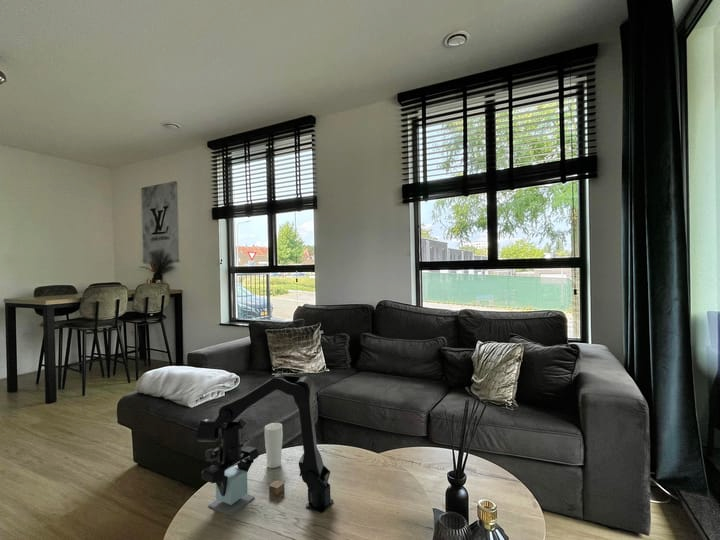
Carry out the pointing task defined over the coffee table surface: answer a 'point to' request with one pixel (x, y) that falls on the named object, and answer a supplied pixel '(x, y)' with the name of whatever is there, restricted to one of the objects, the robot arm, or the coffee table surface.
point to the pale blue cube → (234, 486)
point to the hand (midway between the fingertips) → (232, 489)
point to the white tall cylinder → (273, 444)
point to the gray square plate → (232, 508)
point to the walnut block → (276, 489)
